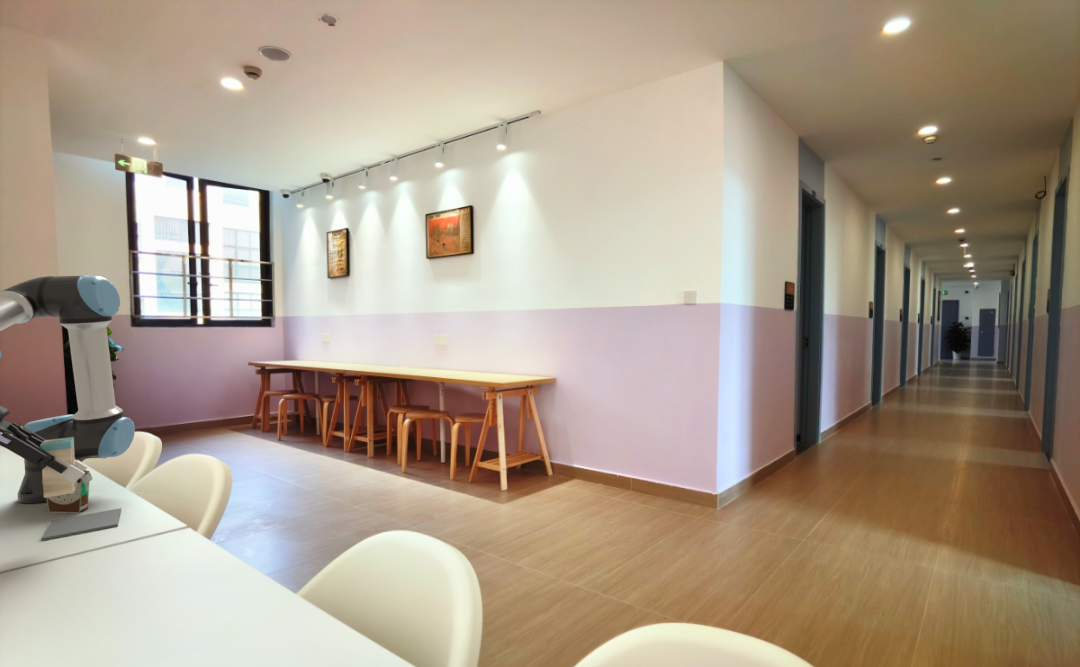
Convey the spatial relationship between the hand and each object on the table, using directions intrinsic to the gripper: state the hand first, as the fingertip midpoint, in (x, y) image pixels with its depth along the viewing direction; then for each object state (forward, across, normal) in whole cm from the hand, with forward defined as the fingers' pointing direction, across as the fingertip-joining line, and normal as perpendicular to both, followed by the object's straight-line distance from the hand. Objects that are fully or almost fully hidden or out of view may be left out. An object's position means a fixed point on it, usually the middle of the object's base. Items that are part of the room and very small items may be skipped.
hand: (80, 474), depth 125 cm
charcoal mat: (+10, -12, -12) cm, 20 cm away
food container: (+8, -29, -14) cm, 33 cm away
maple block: (0, 0, -5) cm, 5 cm away
